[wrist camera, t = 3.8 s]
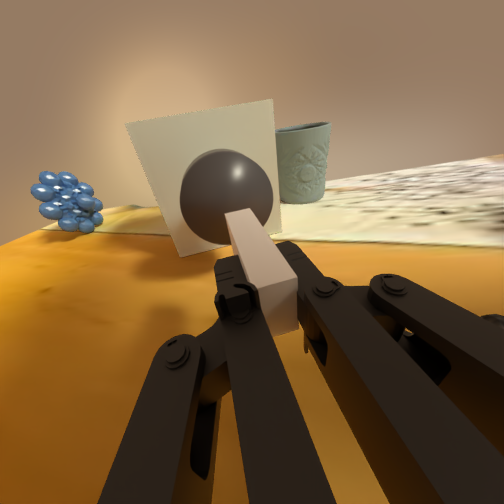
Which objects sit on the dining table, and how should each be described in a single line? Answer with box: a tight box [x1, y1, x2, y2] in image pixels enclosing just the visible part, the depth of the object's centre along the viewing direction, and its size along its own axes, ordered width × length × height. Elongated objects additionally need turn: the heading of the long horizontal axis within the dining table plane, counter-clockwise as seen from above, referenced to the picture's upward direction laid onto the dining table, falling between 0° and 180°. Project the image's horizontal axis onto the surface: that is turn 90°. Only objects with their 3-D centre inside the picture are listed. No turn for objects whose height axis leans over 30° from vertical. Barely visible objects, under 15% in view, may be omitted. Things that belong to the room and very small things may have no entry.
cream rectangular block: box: [125, 99, 282, 258], centre depth 29 cm, size 15×8×16 cm, turn 104°
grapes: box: [31, 171, 103, 233], centre depth 38 cm, size 12×7×12 cm, turn 177°
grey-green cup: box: [275, 122, 331, 204], centre depth 38 cm, size 10×10×12 cm
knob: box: [180, 149, 273, 245], centre depth 22 cm, size 8×11×8 cm
